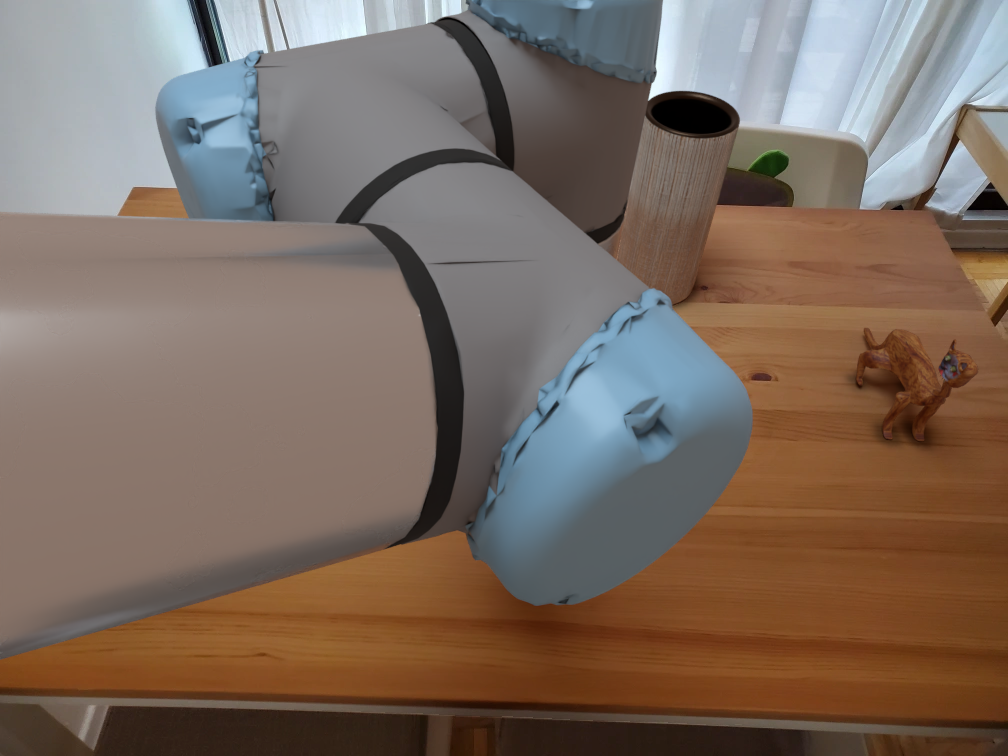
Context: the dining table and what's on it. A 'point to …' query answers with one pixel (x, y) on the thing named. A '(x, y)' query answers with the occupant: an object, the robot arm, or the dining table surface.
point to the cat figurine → (915, 375)
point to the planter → (676, 188)
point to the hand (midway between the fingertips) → (518, 513)
